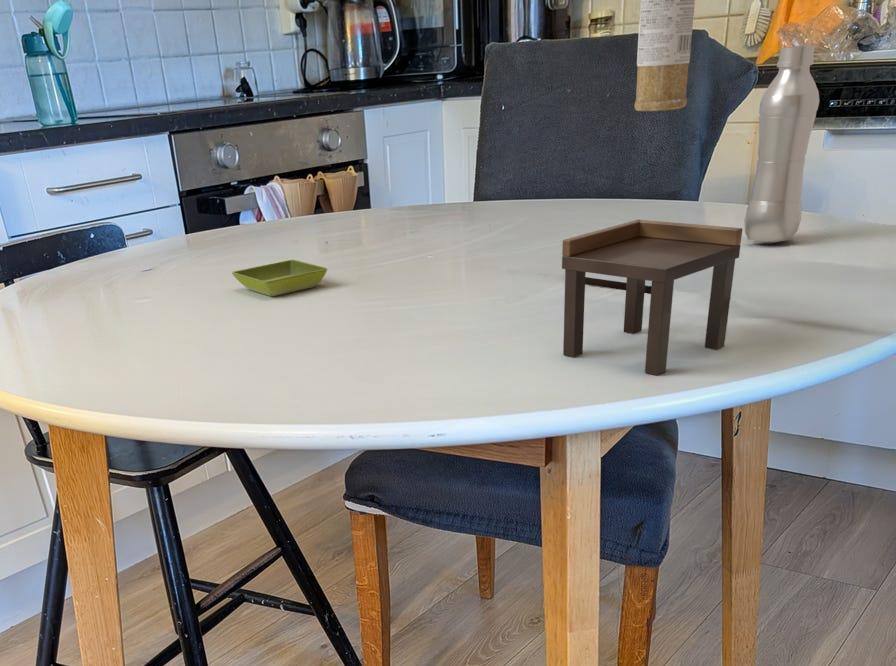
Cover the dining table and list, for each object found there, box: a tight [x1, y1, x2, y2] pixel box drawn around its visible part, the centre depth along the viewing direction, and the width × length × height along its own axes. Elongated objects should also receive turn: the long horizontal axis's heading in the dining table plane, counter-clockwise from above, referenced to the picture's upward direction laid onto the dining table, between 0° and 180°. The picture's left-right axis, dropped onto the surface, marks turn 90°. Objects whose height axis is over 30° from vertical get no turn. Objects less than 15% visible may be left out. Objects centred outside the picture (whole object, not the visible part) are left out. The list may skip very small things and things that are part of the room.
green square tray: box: [231, 259, 328, 297], centre depth 104 cm, size 9×9×2 cm
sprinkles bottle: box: [634, 0, 695, 112], centre depth 73 cm, size 5×5×13 cm
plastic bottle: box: [744, 44, 820, 245], centre depth 101 cm, size 6×7×20 cm
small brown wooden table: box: [561, 219, 743, 376], centre depth 72 cm, size 10×10×9 cm
